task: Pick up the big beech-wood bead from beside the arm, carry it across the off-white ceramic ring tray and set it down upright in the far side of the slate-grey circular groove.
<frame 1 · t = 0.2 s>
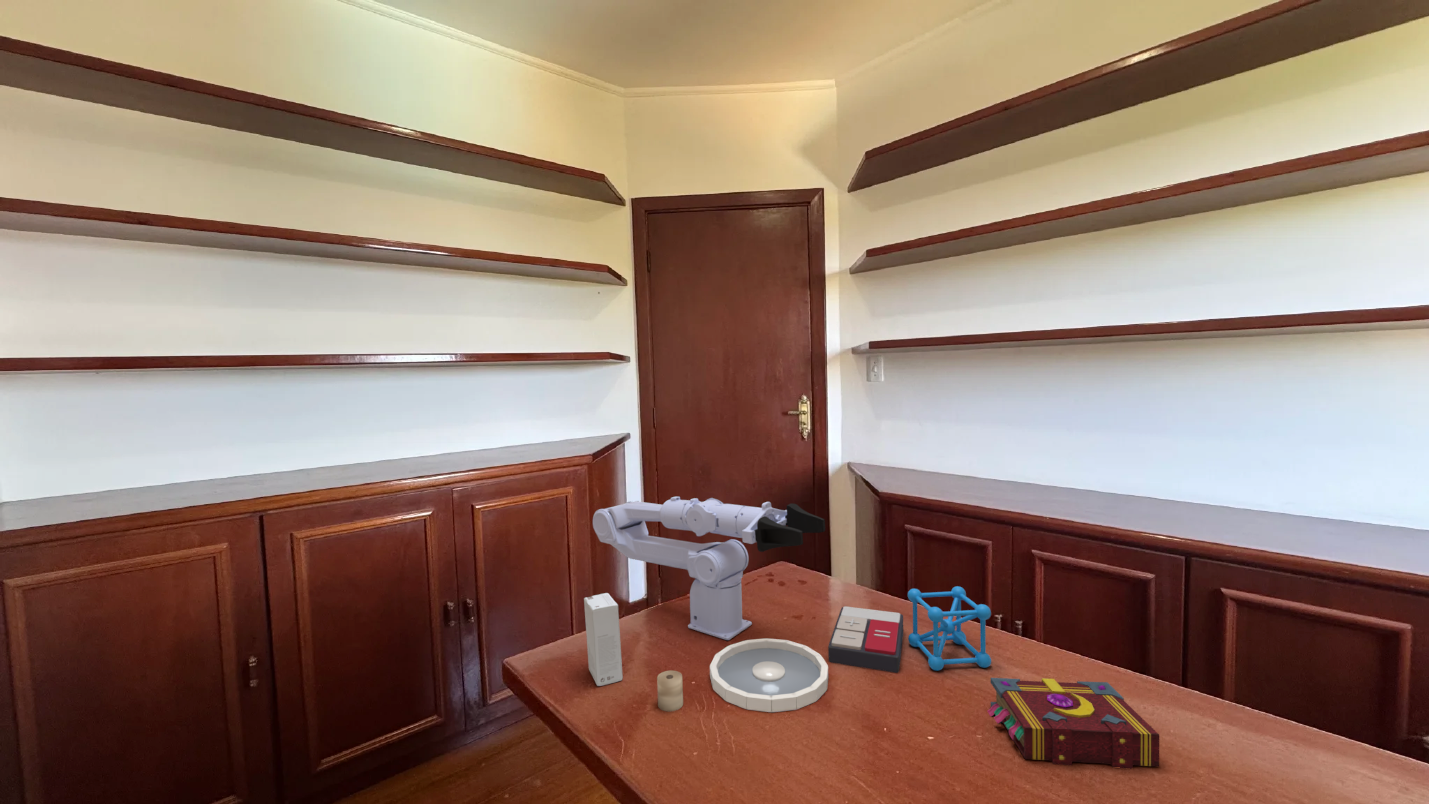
hand: (813, 531, 92), 21 cm above the table, tool horizontal, fingers open, 7 cm apart
ring tray: (768, 677, 87), on the table
decorative book: (1063, 739, 71), on the table
calculator: (867, 649, 96), on the table
molecular structure: (948, 657, 92), on the table
wooden bead: (670, 704, 81), on the table
skincare box: (604, 676, 89), on the table
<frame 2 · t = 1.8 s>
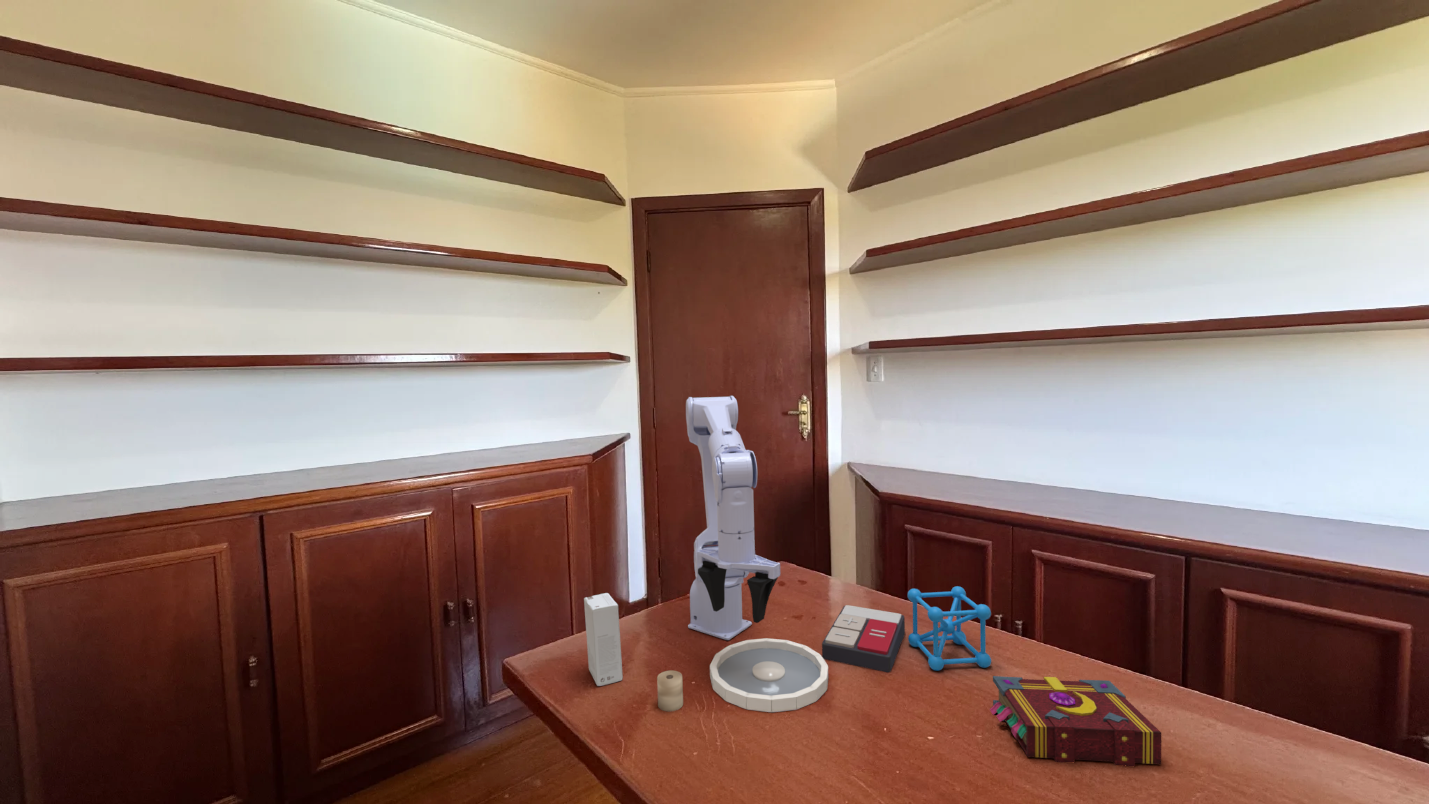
hand: (738, 614, 88), 9 cm above the table, tool pointing down, fingers open, 7 cm apart
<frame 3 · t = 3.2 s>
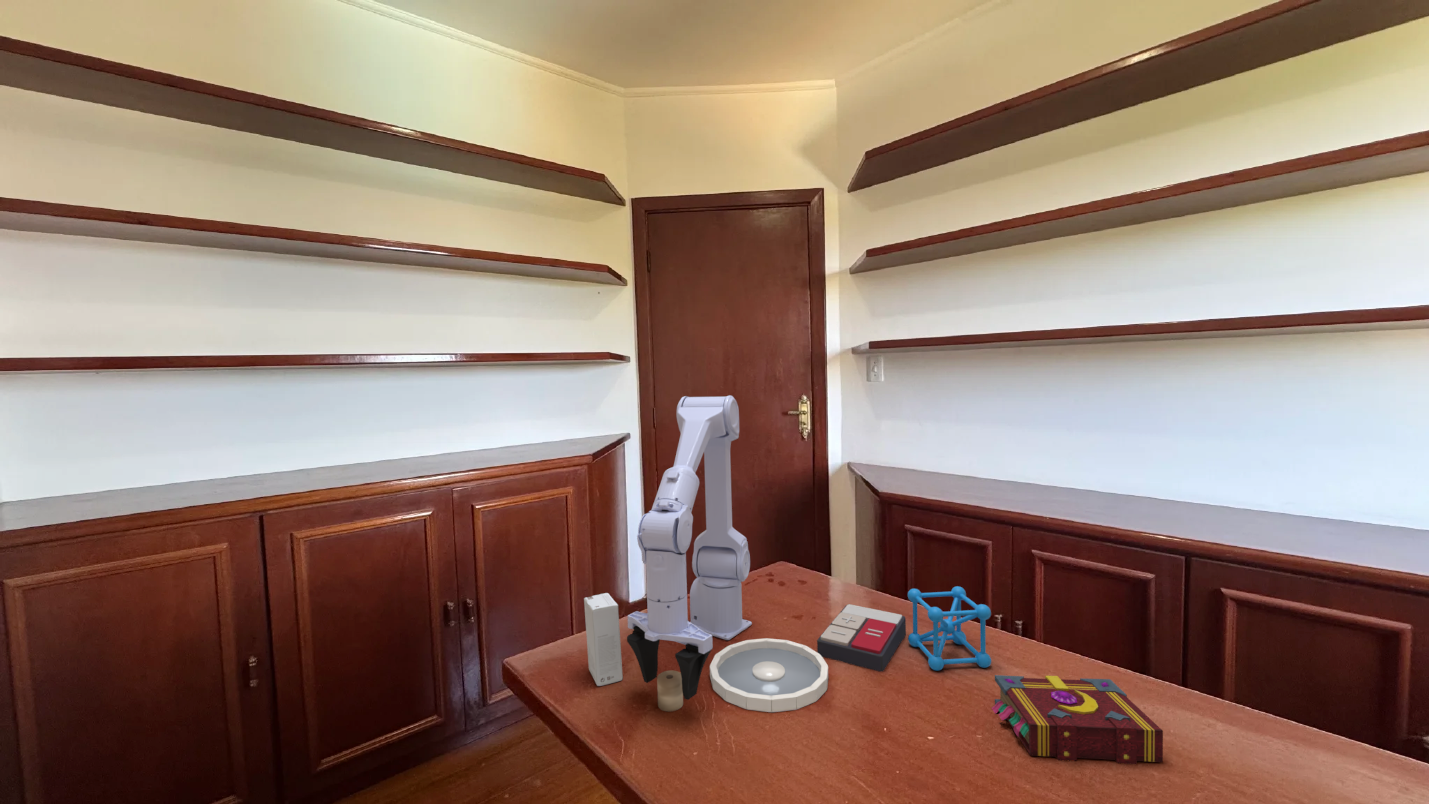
hand: (669, 687, 80), 2 cm above the table, tool pointing down, fingers open, 7 cm apart
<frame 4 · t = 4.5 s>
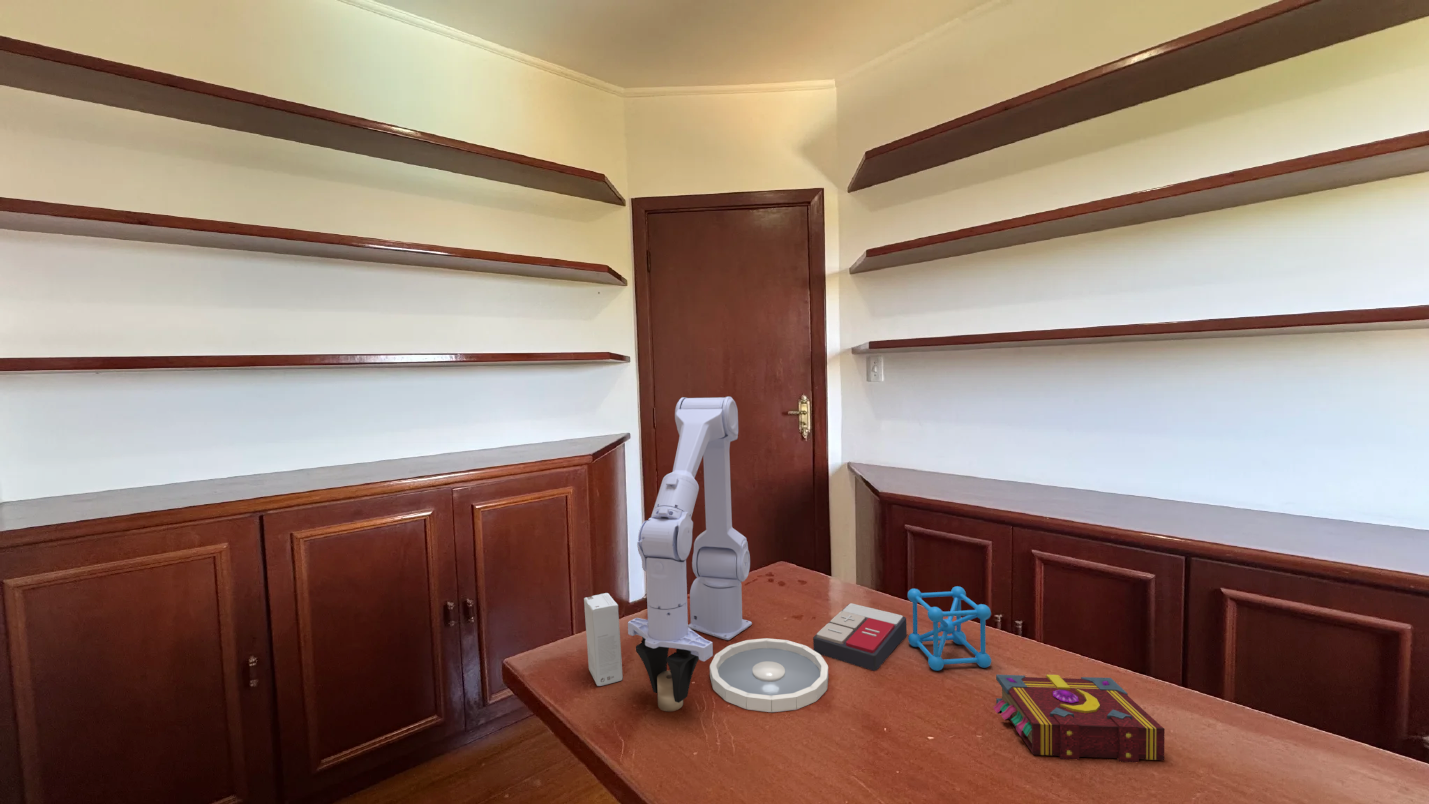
hand: (670, 694, 81), 1 cm above the table, tool pointing down, fingers closed on wooden bead, 4 cm apart
wooden bead: (670, 704, 81), on the table, touching gripper
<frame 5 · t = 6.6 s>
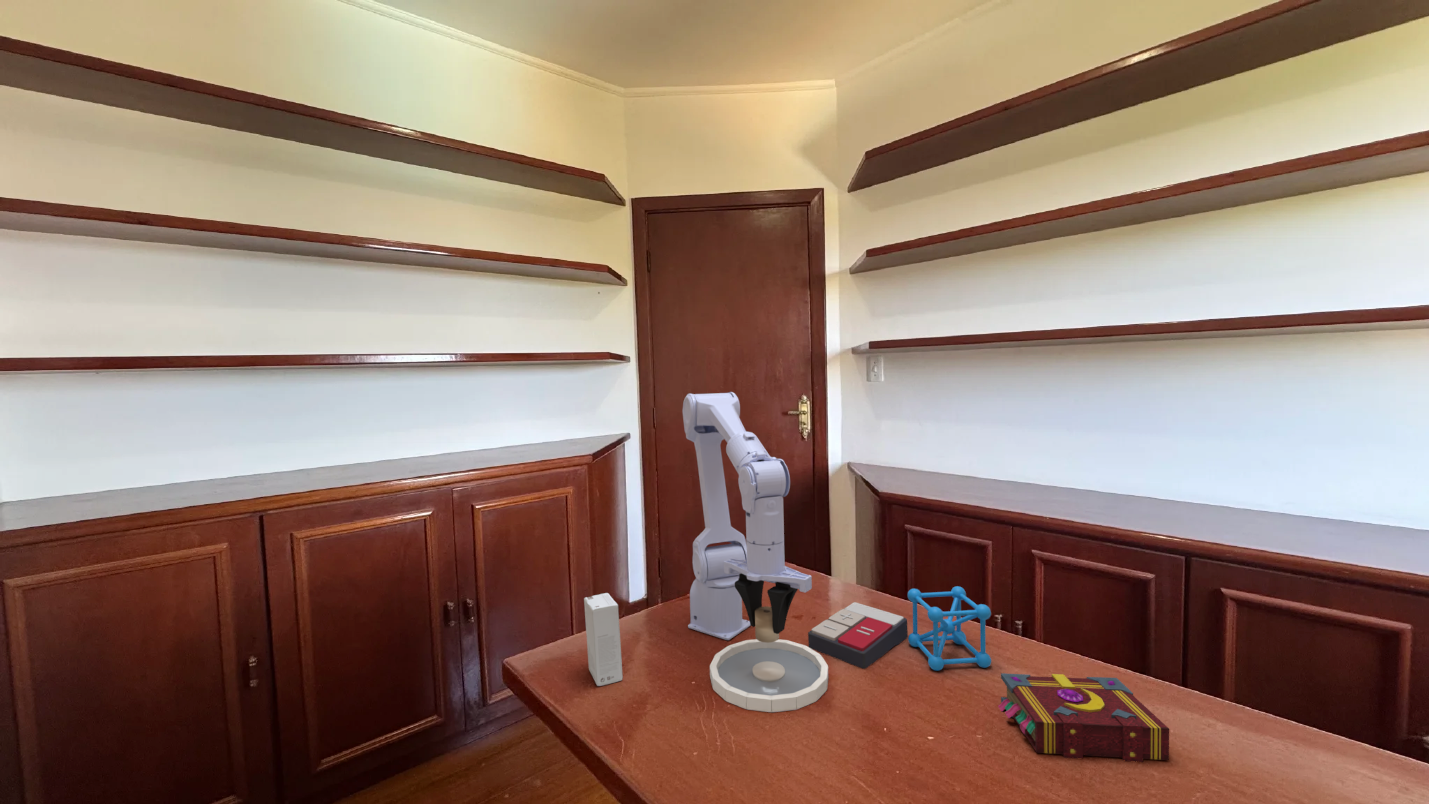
hand: (767, 627, 85), 8 cm above the table, tool pointing down, fingers closed on wooden bead, 4 cm apart
wooden bead: (767, 636, 85), point 7 cm above the table, touching gripper
when the fingers open (3 cm above the table, at t = 8.8 s): wooden bead stays where it is, resting on ring tray.
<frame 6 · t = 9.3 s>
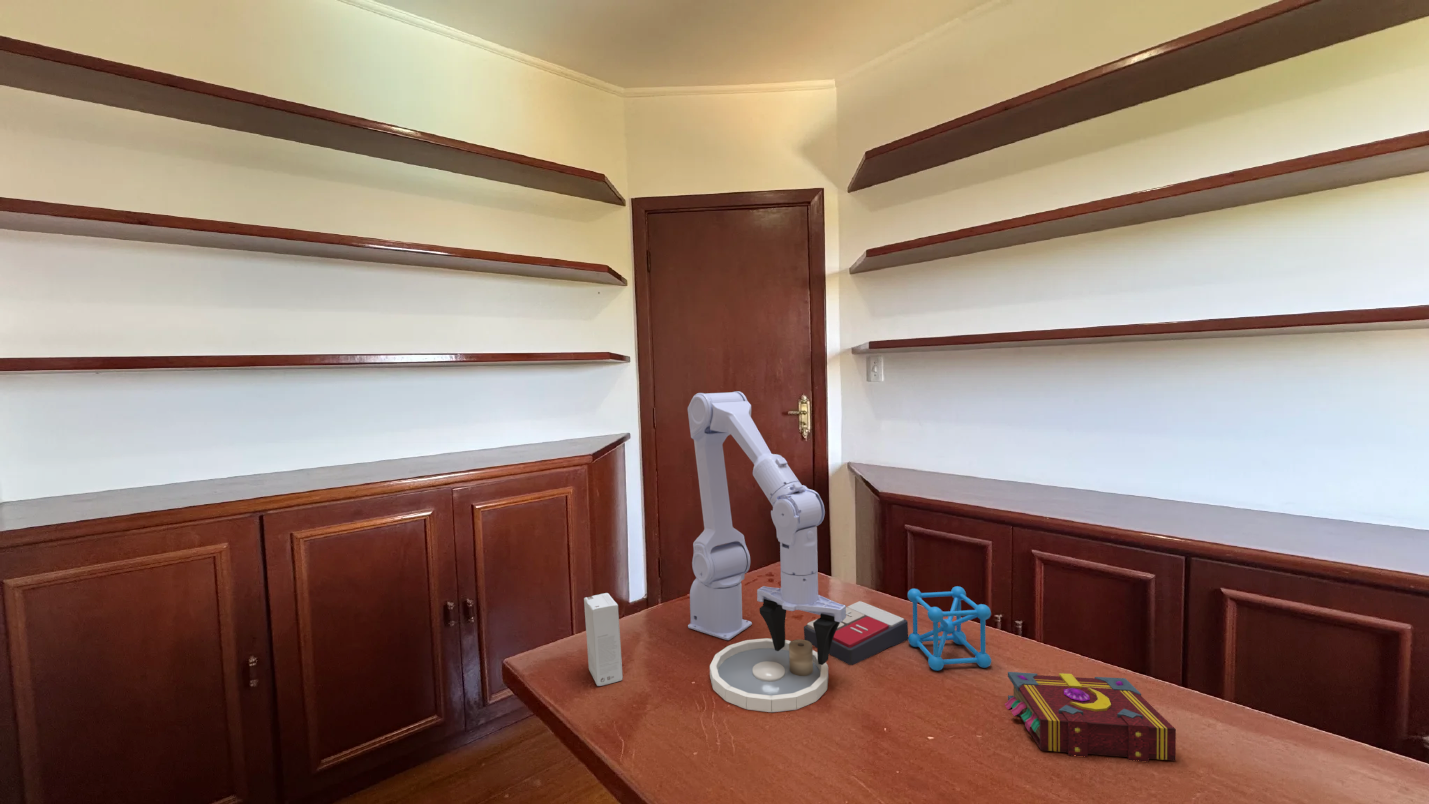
hand: (800, 654, 88), 3 cm above the table, tool pointing down, fingers open, 7 cm apart
wooden bead: (801, 669, 88), point 1 cm above the table, touching ring tray
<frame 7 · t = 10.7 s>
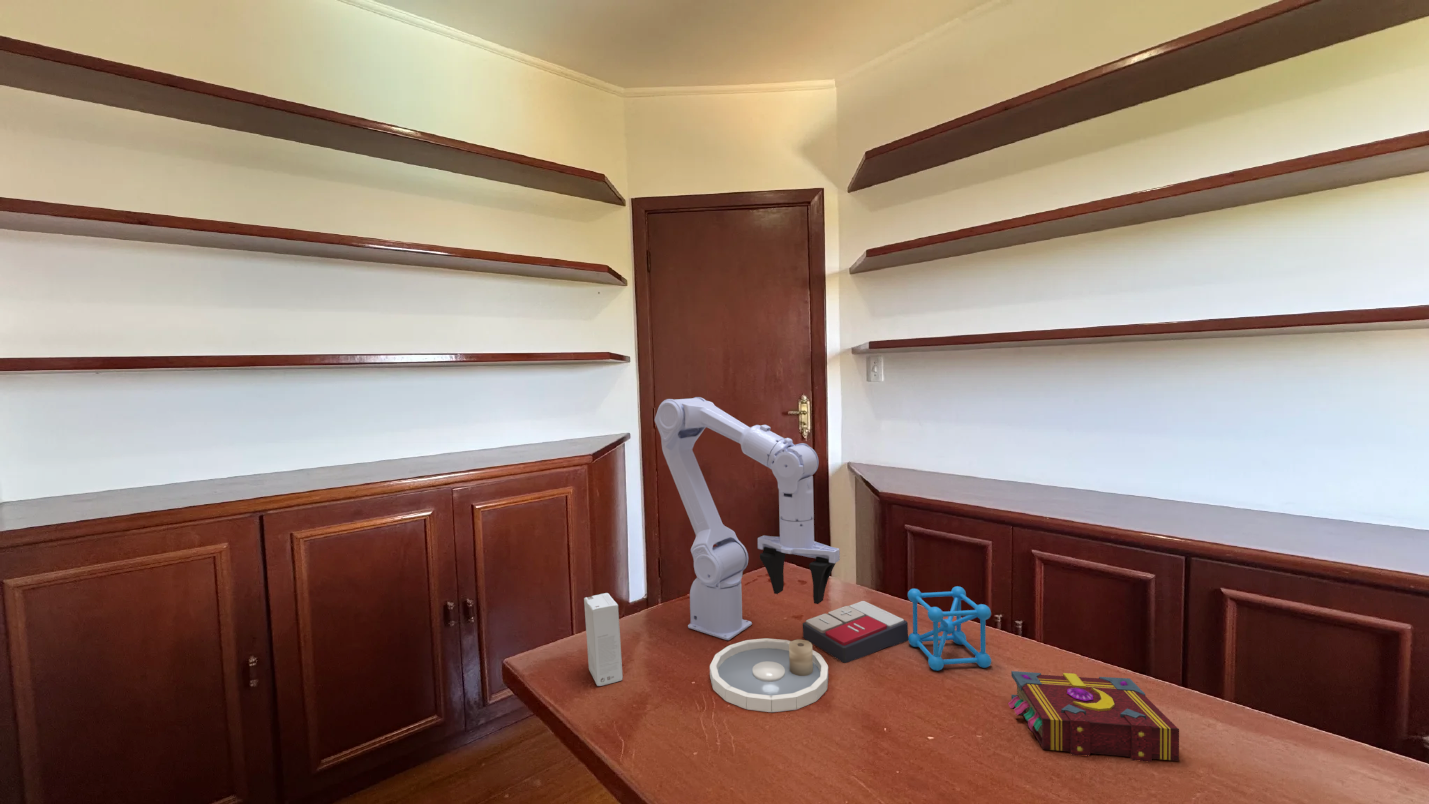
hand: (798, 596, 95), 9 cm above the table, tool pointing down, fingers open, 7 cm apart
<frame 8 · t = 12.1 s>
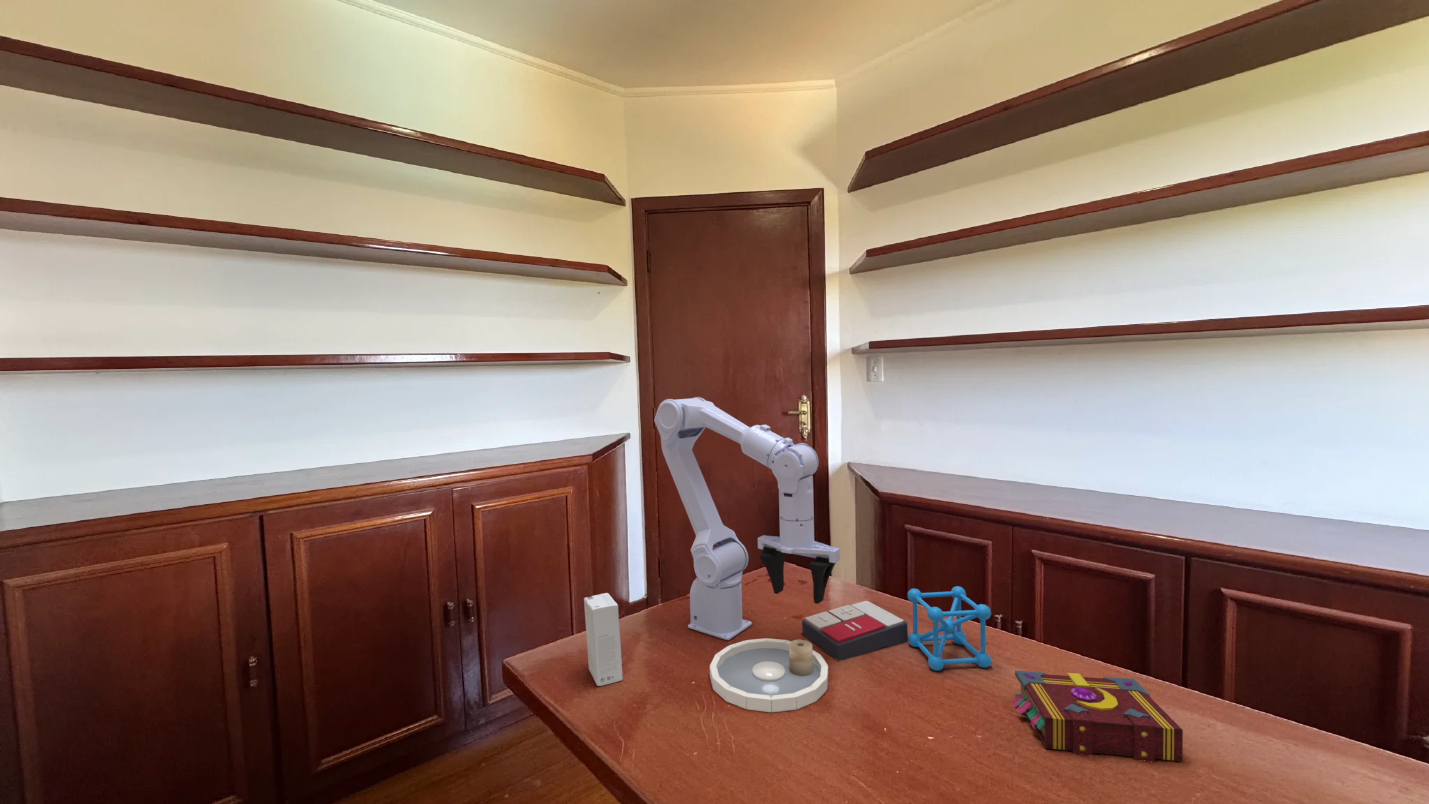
hand: (798, 596, 95), 9 cm above the table, tool pointing down, fingers open, 7 cm apart
at the end: wooden bead 0.0 cm from the target spot on the ring tray, point 0.6 cm above the ring tray's base; wooden bead tilted 0°; the gripper is holding nothing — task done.
